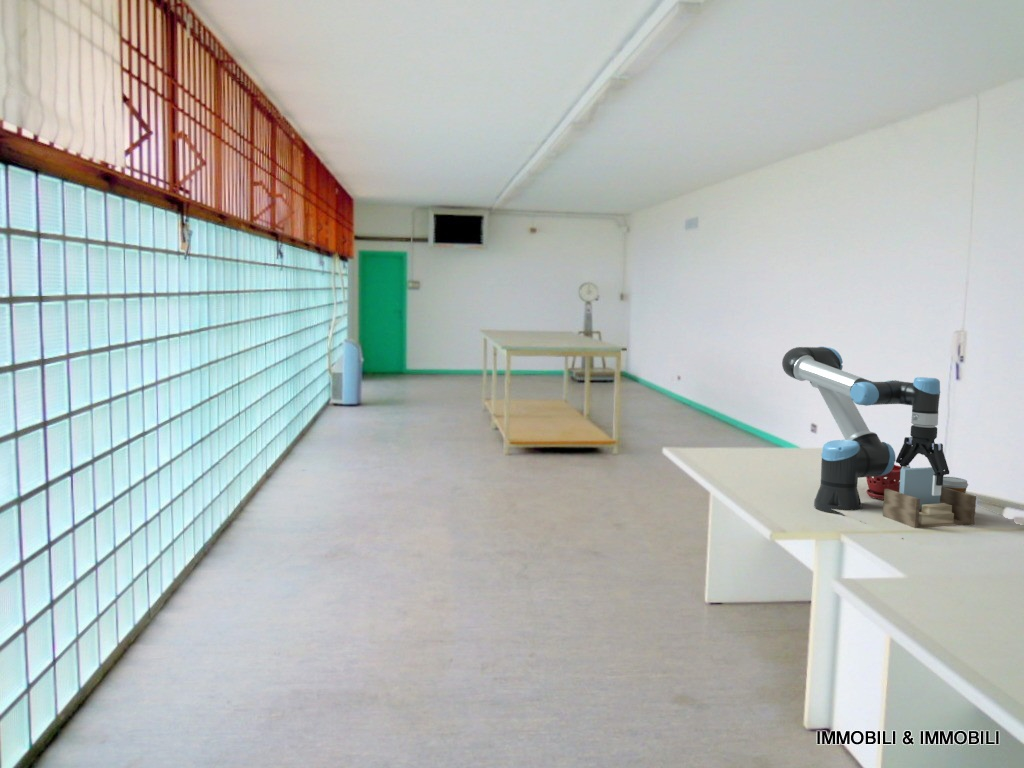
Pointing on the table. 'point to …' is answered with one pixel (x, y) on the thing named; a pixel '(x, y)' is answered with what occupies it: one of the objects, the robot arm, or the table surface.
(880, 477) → the plant pot
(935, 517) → the offcut stack
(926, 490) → the panel
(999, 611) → the table surface
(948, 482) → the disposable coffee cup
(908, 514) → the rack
